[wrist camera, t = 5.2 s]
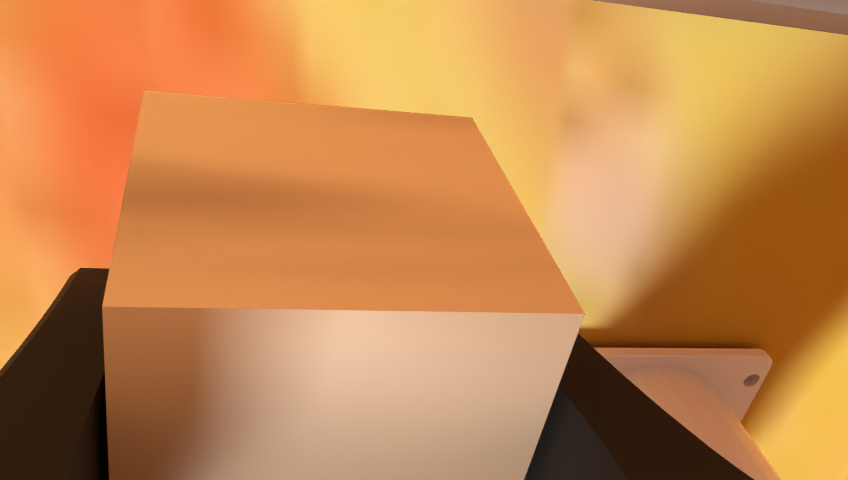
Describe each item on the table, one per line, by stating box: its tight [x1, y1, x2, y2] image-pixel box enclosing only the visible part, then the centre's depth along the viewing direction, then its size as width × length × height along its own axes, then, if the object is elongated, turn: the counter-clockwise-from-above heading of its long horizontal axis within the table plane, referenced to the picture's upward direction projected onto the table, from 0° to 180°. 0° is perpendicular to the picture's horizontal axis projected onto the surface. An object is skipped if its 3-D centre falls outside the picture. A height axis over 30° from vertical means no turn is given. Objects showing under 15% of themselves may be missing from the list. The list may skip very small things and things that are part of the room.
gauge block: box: [102, 90, 585, 480], centre depth 10 cm, size 5×4×4 cm
